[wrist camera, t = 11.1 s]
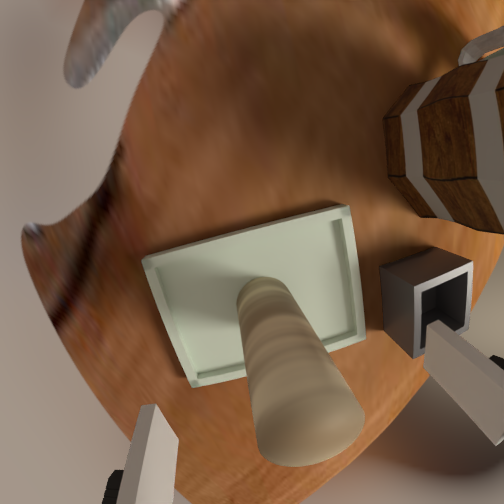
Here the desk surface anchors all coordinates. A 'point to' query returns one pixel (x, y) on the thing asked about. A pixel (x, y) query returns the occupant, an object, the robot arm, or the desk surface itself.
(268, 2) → the desk surface
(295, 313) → the dowel
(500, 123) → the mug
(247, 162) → the desk surface
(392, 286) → the pen cup
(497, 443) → the robot arm
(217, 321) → the tray
